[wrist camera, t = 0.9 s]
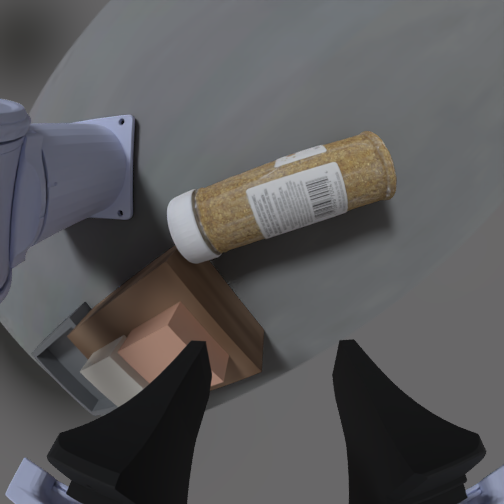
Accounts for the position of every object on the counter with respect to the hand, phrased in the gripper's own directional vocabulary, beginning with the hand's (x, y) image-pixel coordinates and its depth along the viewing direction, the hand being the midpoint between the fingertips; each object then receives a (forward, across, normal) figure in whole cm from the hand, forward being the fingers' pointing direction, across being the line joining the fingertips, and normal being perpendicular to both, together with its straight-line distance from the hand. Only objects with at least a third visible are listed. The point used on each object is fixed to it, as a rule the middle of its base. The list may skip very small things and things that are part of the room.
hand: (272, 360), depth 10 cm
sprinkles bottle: (+8, -7, -7) cm, 13 cm away
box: (+10, +21, +13) cm, 27 cm away
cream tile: (+5, +12, +7) cm, 15 cm away
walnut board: (+10, +9, +6) cm, 15 cm away
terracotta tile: (+5, +6, +4) cm, 9 cm away
